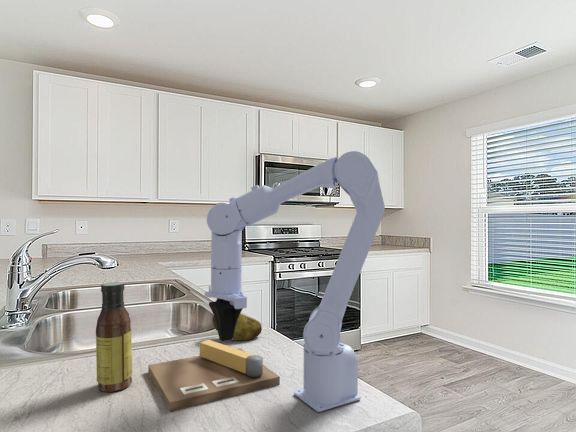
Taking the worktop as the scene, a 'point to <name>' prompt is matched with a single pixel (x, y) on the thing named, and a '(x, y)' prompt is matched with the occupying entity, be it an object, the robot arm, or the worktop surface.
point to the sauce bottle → (113, 340)
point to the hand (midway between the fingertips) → (225, 339)
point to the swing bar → (232, 358)
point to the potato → (245, 328)
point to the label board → (203, 381)
